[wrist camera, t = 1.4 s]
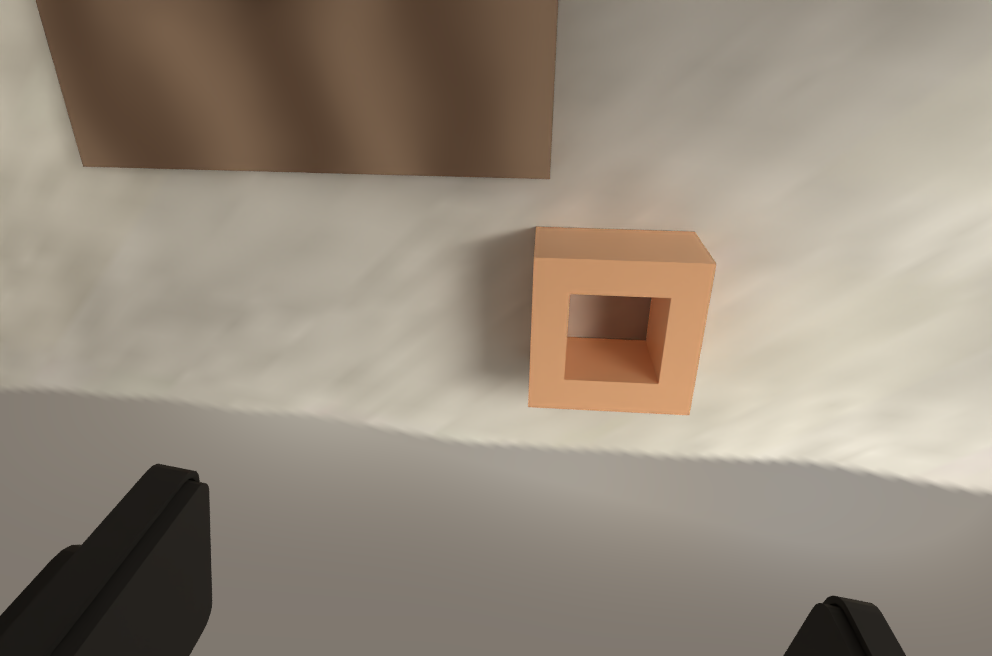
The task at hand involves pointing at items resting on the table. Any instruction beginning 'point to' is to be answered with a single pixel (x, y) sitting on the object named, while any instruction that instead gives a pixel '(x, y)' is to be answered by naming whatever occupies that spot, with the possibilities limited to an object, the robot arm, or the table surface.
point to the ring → (618, 362)
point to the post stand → (309, 84)
